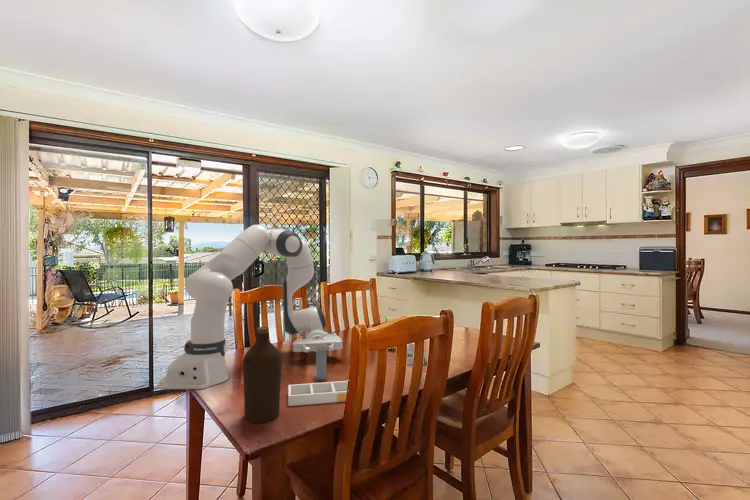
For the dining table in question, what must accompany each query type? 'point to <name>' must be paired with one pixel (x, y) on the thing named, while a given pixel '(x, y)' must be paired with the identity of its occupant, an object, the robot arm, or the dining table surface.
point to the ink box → (411, 351)
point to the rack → (317, 393)
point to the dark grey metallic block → (321, 363)
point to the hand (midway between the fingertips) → (319, 349)
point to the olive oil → (262, 379)
